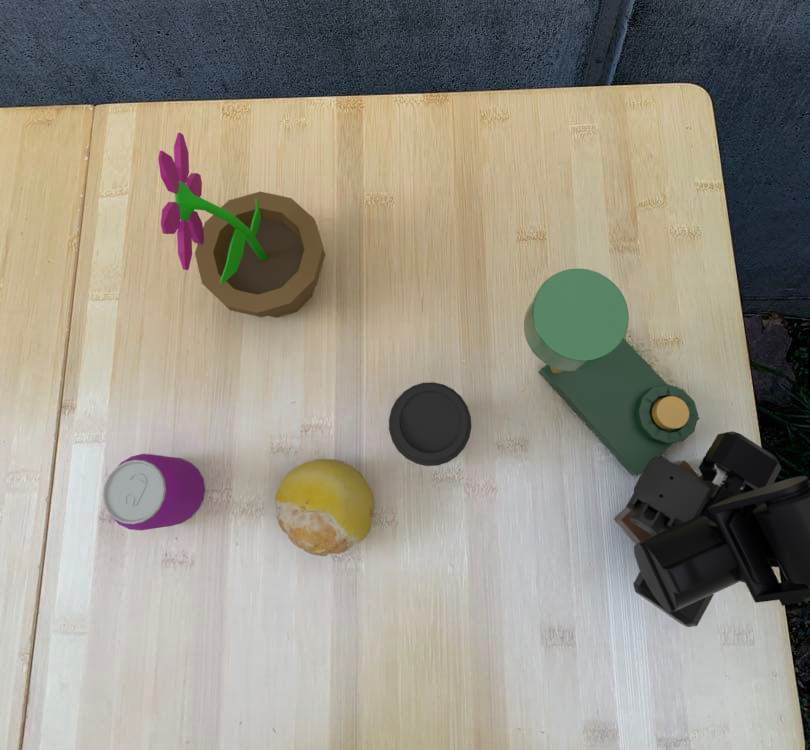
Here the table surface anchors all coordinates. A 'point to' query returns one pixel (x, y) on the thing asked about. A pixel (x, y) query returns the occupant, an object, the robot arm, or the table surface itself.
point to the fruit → (325, 506)
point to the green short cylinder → (576, 319)
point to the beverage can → (153, 492)
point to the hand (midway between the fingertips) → (675, 522)
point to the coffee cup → (430, 424)
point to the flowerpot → (243, 242)
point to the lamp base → (623, 405)
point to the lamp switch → (670, 413)
